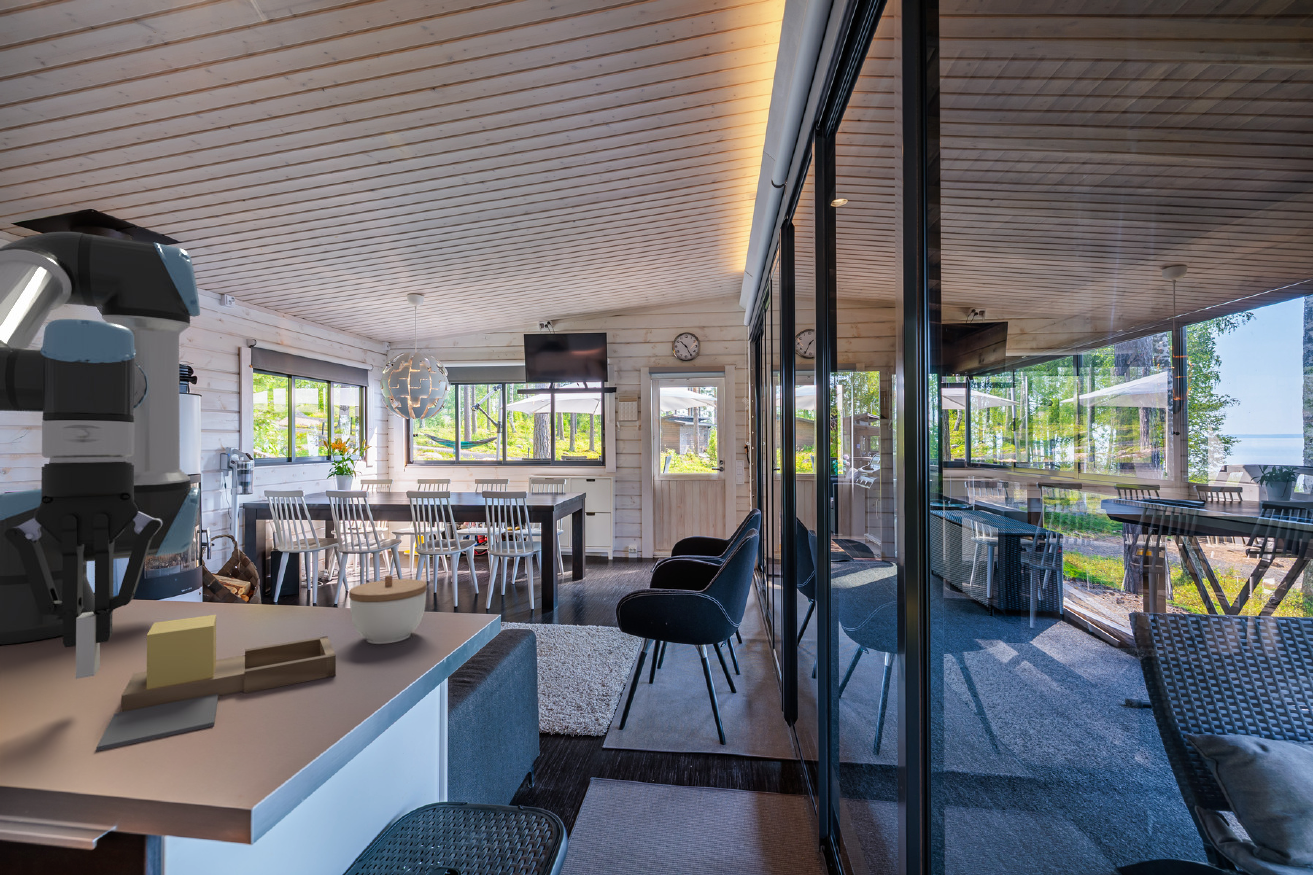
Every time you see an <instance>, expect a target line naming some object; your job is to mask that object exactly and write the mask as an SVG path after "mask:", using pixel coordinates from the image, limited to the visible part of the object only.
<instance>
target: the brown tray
mask: <svg viewBox="0 0 1313 875" xmlns="http://www.w3.org/2000/svg"><path fill="white" fill-rule="evenodd" d="M336 658H337V656H336V652H335V650H334V648H333V646H332V643H331V641H330V639H329V636H328V635H326V636H318V637H313V638H308V639H307V638H306V639H300V640H294V641H288V642H283V643H282V642H281V643H277V644H270V645H269V644H268V645H265V646H264V645H262V646H257V647H251V648H245V649H244V655H239V656H234V657H227V658H226V657H225V658H221V659H216V666H215V672H214V677H213V678H208V679H202V680H197V681H191V682H185V683H180V684H174V685H169V686H163V687H157V688H152V689H147V671H141V672H135V673H133V674H132V676H131V678H130V679H129V681H128V683H127V685H126V686H125V689H124V690H123V692H122V694H121V698H120V699H121V704H120V705H121V706H120V707H121V710H120V712H124V711H130V710H135V709H140V708H145V707H151V706H156V705H161V704H166V703H172V702H177V701H182V700H187V699H193V698H198V697H203V696H208V695H213V694H218V697H219V696H225V695H230V694H234V693H239V692H243V694H248V693H252V692H257V691H263V690H269V689H274V688H280V687H284V686H289V685H294V684H295V685H296V684H299V683H300V684H301V683H304V682H310V681H315V680H320V679H325V678H329V677H336V676H337V675H336V674H337V669H336V667H337V666H336V665H337V663H336V662H337V659H336Z"/></svg>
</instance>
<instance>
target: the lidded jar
mask: <svg viewBox="0 0 1313 875" xmlns="http://www.w3.org/2000/svg"><path fill="white" fill-rule="evenodd" d="M348 593H349V594H348V598H349V608H350V617H351V621H352V623H353V626H354V629H355V630H356V632H357V634H359V635H360V636H362V637H363V638H364V639H365V640H366V642H367V643H368V644H374V645H383V644H384V645H385V644H395V643H397V642H402V641H405V640H407V639H409V638H410V637H411V634H412V633H413V632H414V631H415V630H416V629H417V627H419V626H420V623H421V621H422V619H423V616H424V612H425V609H426V598H427V595H426V594H427V583H426V582H425V581H423V580H419V579H410V578H409V579H408V578H405V579H404V578H401V579H400V578H399V579H397V578H396V579H395V578H394V579H393V575H392V574H387V575H384V580H378V581H372V582H367V583H362V584H359V585H356V586H354V587H352V588H350V590H349V592H348Z"/></svg>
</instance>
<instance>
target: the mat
mask: <svg viewBox="0 0 1313 875" xmlns="http://www.w3.org/2000/svg"><path fill="white" fill-rule="evenodd" d="M218 700H219V696H218V694H213V695H208V696H203V697H198V698H193V699H187V700H182V701H177V702H172V703H166V704H161V705H156V706H151V707H145V708H140V709H135V710H130V711H124V712H121V711H120V712H115V713H113V715H112V717H111V719H110V721H109V723H108V725H107V727H106V728H105V730H104V732H103V734H102V736H101V738H100V740H99V742H98V743H97V745H96V748H95V749H96V750H95V751H96V752H100V751H103V750H109V749H112V748H113V749H114V748H117V747H118V748H119V747H122V746H127V745H132V744H136V743H140V742H141V743H142V742H145V741H150V740H156V739H160V738H164V737H170V736H174V735H178V734H183V733H188V732H193V731H197V730H201V729H206V728H211V727H214V726H215V723H216V715H217V708H218Z"/></svg>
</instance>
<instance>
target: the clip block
mask: <svg viewBox="0 0 1313 875" xmlns="http://www.w3.org/2000/svg"><path fill="white" fill-rule="evenodd" d="M216 660H217V614H210V615H203V616H195V617H186V618H180V619H179V618H178V619H172V620H165V621H158V622H156V621H155V622H154V623H153V624H152V625H151V627H150V628H149V631H148V632H147V634H146V672H147V689H152V688H157V687H163V686H169V685H174V684H180V683H185V682H191V681H197V680H202V679H208V678H213V677H214V672H215V666H216Z"/></svg>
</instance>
